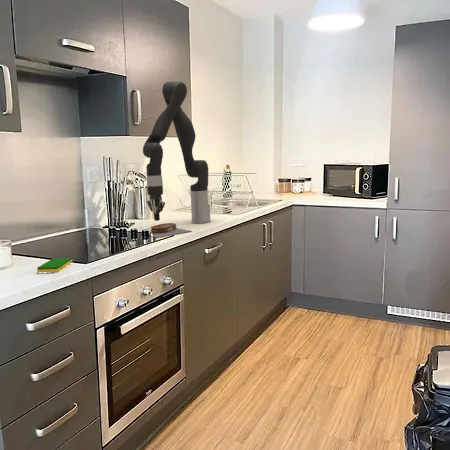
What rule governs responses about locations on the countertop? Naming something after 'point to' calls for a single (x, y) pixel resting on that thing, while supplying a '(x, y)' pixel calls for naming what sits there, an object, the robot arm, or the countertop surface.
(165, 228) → the tin
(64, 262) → the dish sponge
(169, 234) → the mat
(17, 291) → the countertop surface
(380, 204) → the countertop surface
